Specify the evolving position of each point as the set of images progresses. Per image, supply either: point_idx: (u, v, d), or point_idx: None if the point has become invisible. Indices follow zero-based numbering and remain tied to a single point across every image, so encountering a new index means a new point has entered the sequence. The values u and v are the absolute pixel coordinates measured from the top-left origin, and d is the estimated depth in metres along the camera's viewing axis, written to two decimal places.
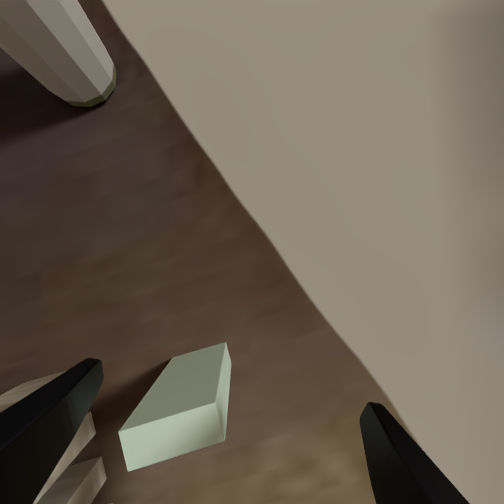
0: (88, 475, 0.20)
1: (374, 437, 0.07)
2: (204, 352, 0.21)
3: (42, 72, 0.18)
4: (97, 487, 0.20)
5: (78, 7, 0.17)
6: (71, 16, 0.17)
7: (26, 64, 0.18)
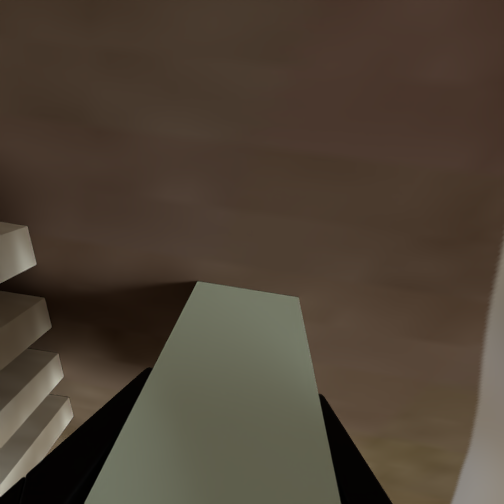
0: (30, 382, 0.13)
1: None
2: (260, 307, 0.11)
3: None
4: (46, 390, 0.14)
5: None
6: None
7: None
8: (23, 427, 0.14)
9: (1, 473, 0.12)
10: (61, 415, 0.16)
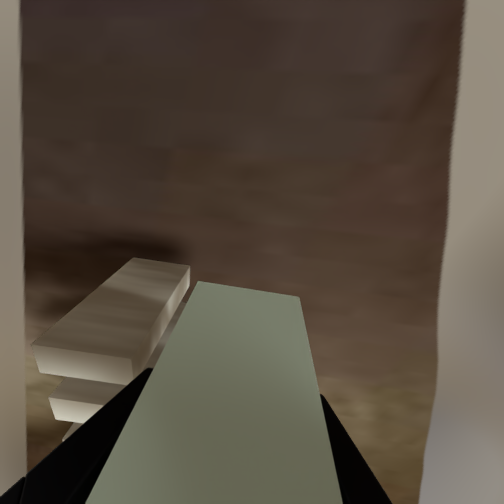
0: None
1: None
2: (261, 306, 0.11)
3: None
4: None
5: None
6: None
7: None
8: None
9: None
10: None
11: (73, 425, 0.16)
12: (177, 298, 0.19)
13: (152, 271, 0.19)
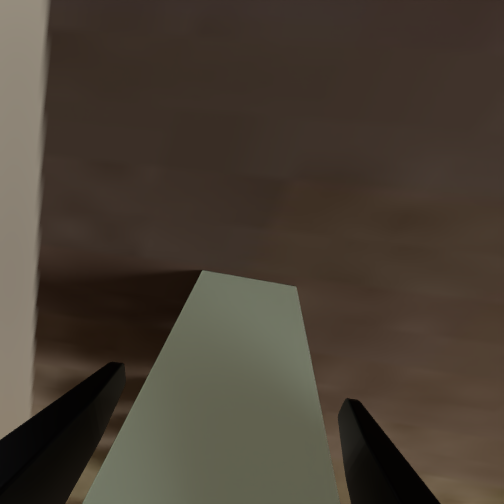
0: None
1: (349, 433, 0.07)
2: (260, 294, 0.12)
3: None
4: None
5: None
6: None
7: None
8: None
9: None
10: None
11: None
12: None
13: None
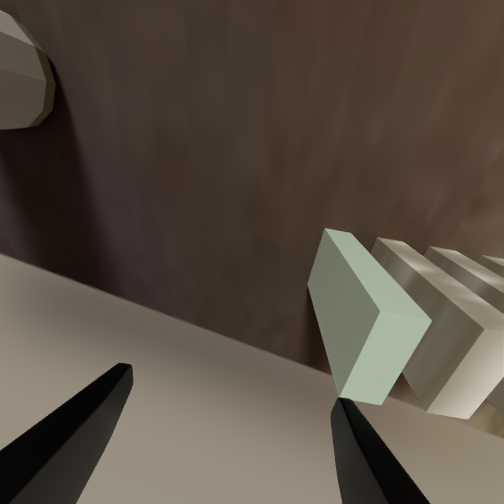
0: (503, 266, 0.17)
1: (341, 432, 0.07)
2: (321, 257, 0.18)
3: None
4: None
5: None
6: None
7: None
8: None
9: None
10: None
11: None
12: (416, 258, 0.15)
13: None
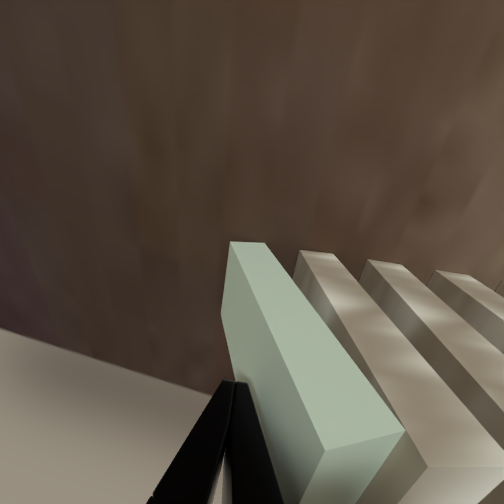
0: (460, 287, 0.12)
1: None
2: (230, 283, 0.13)
3: None
4: (480, 285, 0.13)
5: None
6: None
7: None
8: None
9: None
10: None
11: None
12: (342, 283, 0.11)
13: None
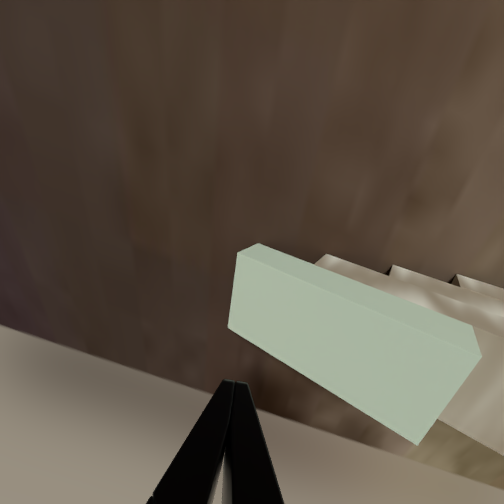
0: None
1: None
2: (252, 292, 0.13)
3: None
4: (485, 284, 0.13)
5: None
6: None
7: None
8: None
9: None
10: None
11: None
12: (385, 281, 0.12)
13: None
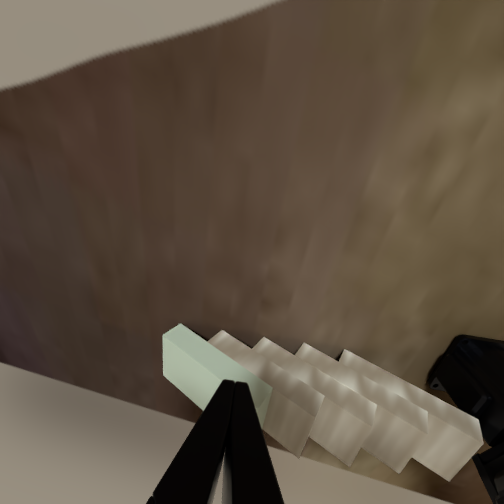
0: (314, 366, 0.20)
1: None
2: (172, 358, 0.21)
3: None
4: (315, 351, 0.22)
5: None
6: None
7: None
8: None
9: None
10: (349, 362, 0.21)
11: (387, 464, 0.19)
12: (245, 354, 0.20)
13: None
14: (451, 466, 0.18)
